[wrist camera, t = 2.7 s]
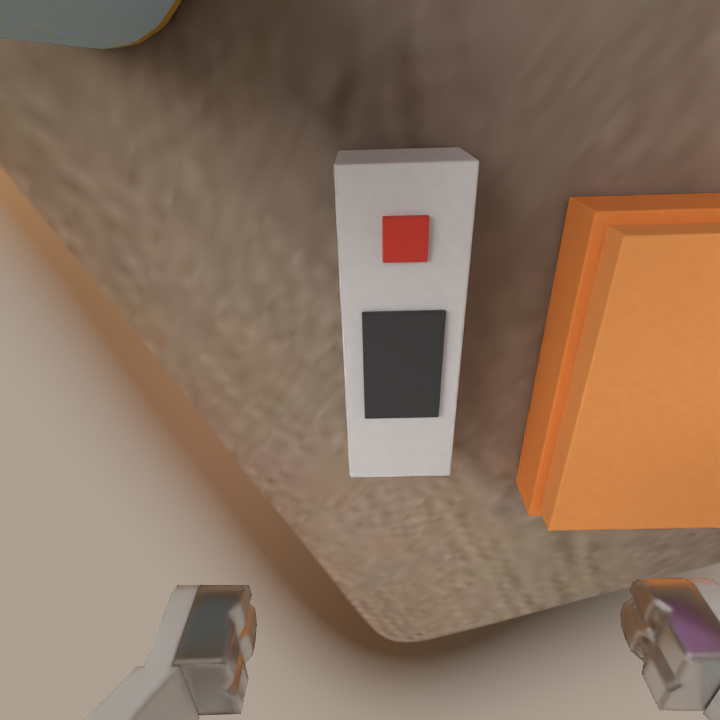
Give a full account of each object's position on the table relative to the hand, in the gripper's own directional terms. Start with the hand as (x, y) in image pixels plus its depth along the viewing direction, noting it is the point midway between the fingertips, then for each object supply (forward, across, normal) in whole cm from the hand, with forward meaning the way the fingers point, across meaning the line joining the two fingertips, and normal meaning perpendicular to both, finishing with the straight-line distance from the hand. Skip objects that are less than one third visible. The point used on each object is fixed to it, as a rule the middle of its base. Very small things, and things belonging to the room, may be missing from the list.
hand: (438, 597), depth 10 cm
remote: (+14, 0, 0) cm, 14 cm away
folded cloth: (+14, -15, +3) cm, 21 cm away
